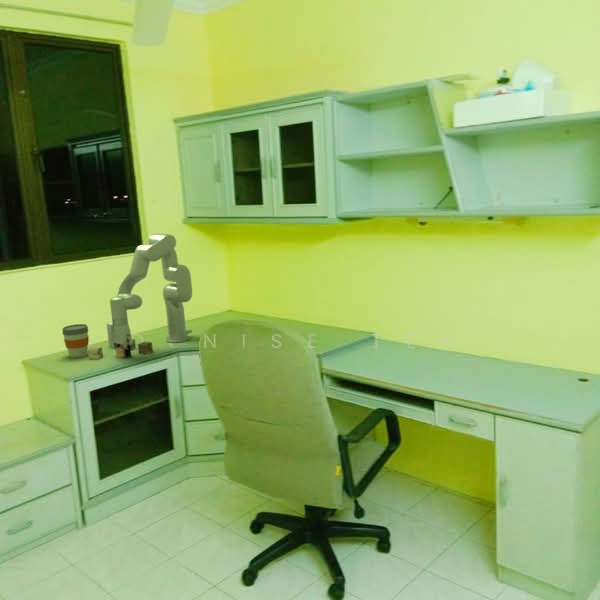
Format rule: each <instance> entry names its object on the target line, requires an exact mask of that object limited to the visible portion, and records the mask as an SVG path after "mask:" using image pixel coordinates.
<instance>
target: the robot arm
mask: <svg viewBox="0 0 600 600" xmlns="http://www.w3.org/2000/svg"><path fill="white" fill-rule="evenodd" d="M147 241H148V244H140V245H138V246H137V247H135V251H134V254H133V258H132V261H131V266H130V270H129V273H128V274H127V275H126V276H125V278H124V279H123V280H122V282H121V283H120V285H119V289H118V291H117V296H113V297H111V298H110V300H109V304H110V314H111V320H112V321H111V323H113V324H112V330H111V331H112V342H113V343H114V345H115V348H114V349H116V348H117V347H120V346H121V344H123V345H124V346H125V348H126V349H125V356H126V358H128V356H129V357H132V349H131V346H132V345H133V343H134V342H133V341H132V339H133V338H132V332H131V329H130V325H129V320H128V319H129V318H128V310H136V309H139V308H141V307H142V305H143V298H142V297H141V296H140V295H138V294H134V293H132V290H133V289H134V287H135V285H136V284H138V283H140V282H141V281H142V280H144V279H146V278H147V275H148V270H149V267H150V262H151V263H152V262H157V261H160V260H161V265H162V266H161V268H162V276H163V278H164V280H166V281H168V282H172V283H167V284H165V285H164V287H163V289H162V297H163V300H164V304H165V310H166V311H165V312H166V321H167V322H166V323H167V332H168V336H167V338H166V339H165V340H166V342H167V343H173V344H174V343H183V342H186V341H188V340H189V339H190V335H189V334H191V333H192V332H193V330H192V329H186V317H185V307H184V305H183V304H184V303H188V302H190V300H191V299H192V296H193V287H192V277H191V271H190V269H189V268H188V267H187V266H186V265H183V264H179V261H178V259H179V258H178V255H177V251H176V250H175V248H176V247H177V239H176V238H175V236H174V235H172V234H169V233H168V234H167V233H154V234H153V233H152V234H151V235H149V237H148V240H147ZM131 338H132V339H131ZM126 344H128V346H127V345H126ZM115 354H116V355H117V353H115Z"/></svg>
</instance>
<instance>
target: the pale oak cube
mask: <svg viewBox="0 0 600 600" xmlns="http://www.w3.org/2000/svg"><path fill="white" fill-rule="evenodd" d="M87 355H88V359H89V360H99V359H100V357H101V358H102V357H104V356H103V355H104V353H103V346H92V347H90V348H88V354H87Z"/></svg>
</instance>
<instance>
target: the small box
mask: <svg viewBox="0 0 600 600" xmlns="http://www.w3.org/2000/svg"><path fill="white" fill-rule="evenodd" d="M112 324H113V323H112V322H108V323H106V330H107V339H108V346H110V348H112V347H113V348H112V349H116V348H115V345H114V343H113V342H112V331H111V330H112ZM121 346H123V345H122V344H121Z"/></svg>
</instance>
